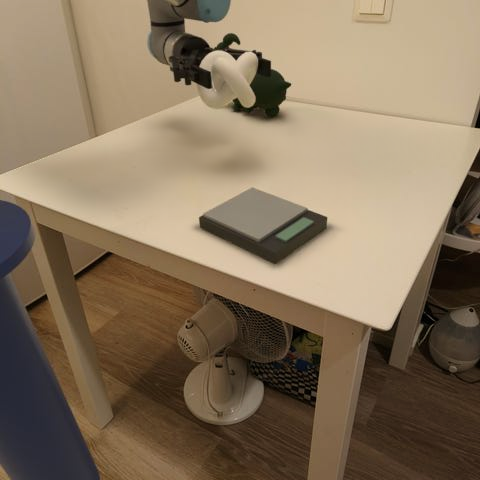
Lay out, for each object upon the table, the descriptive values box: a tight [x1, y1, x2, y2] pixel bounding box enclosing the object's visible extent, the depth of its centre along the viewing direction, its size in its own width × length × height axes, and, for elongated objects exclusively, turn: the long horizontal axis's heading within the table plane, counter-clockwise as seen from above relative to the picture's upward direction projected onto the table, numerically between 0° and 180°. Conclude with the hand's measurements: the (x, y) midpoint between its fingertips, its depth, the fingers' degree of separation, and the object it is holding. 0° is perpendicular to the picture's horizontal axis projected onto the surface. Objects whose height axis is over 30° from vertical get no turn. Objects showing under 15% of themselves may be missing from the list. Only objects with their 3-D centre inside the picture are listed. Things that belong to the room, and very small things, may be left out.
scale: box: [198, 186, 328, 265], centre depth 72 cm, size 16×13×3 cm
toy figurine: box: [213, 32, 292, 119], centre depth 114 cm, size 9×19×25 cm
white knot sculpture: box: [196, 50, 258, 110], centre depth 84 cm, size 11×12×9 cm
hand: (240, 74), depth 81 cm, fingers closed on white knot sculpture, 12 cm apart
